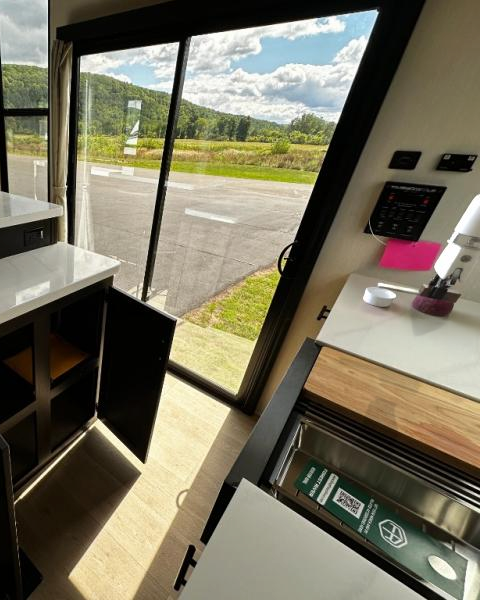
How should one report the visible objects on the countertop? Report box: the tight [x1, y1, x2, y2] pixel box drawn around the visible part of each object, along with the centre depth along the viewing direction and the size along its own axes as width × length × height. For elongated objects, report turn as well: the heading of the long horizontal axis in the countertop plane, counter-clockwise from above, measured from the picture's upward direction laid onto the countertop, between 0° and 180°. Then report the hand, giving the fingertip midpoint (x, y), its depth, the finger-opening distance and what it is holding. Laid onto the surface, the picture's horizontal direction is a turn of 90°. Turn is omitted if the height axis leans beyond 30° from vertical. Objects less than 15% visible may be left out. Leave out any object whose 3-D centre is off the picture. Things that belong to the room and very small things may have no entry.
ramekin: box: [363, 286, 397, 308], centre depth 122 cm, size 9×9×4 cm
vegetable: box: [411, 281, 455, 317], centre depth 114 cm, size 10×10×15 cm
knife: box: [377, 282, 462, 304], centre depth 99 cm, size 18×3×3 cm, turn 57°
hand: (432, 295), depth 98 cm, fingers closed on knife, 2 cm apart
